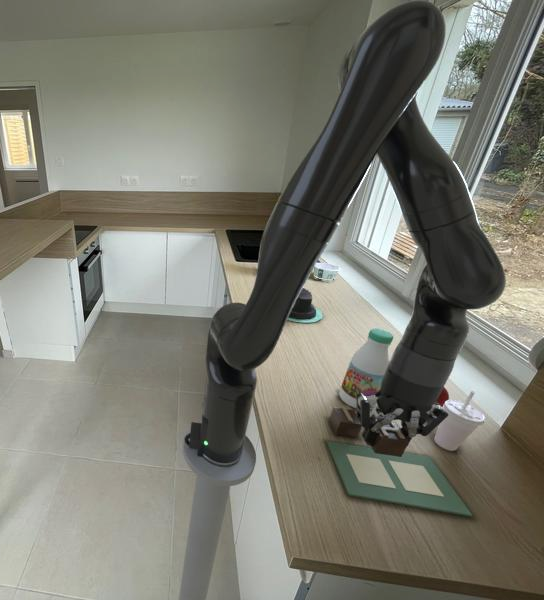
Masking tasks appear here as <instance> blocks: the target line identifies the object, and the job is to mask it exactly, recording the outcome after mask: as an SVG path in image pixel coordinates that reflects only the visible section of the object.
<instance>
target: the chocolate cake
mask: <svg viewBox="0 0 544 600" xmlns="http://www.w3.org/2000/svg"><path fill="white" fill-rule="evenodd" d="M312 302H313V294H312V292H311V291H309V289H306V288H305V286H304V287H303V288H302V290H301V292H300V294H299V296H298V298H297V299H296V301H295V303H294V306H293V308H292V310H291V312H290V314H289V316H288V319H287V321H290V322H295V323H302V324H303V323H305V324H306V323H316V322H319V321H320V320H322V318H323V317H324V315H323V313H322V311H321V310H320V309H319V308H318V307H315V306H314V305H313V303H312Z"/></svg>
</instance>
